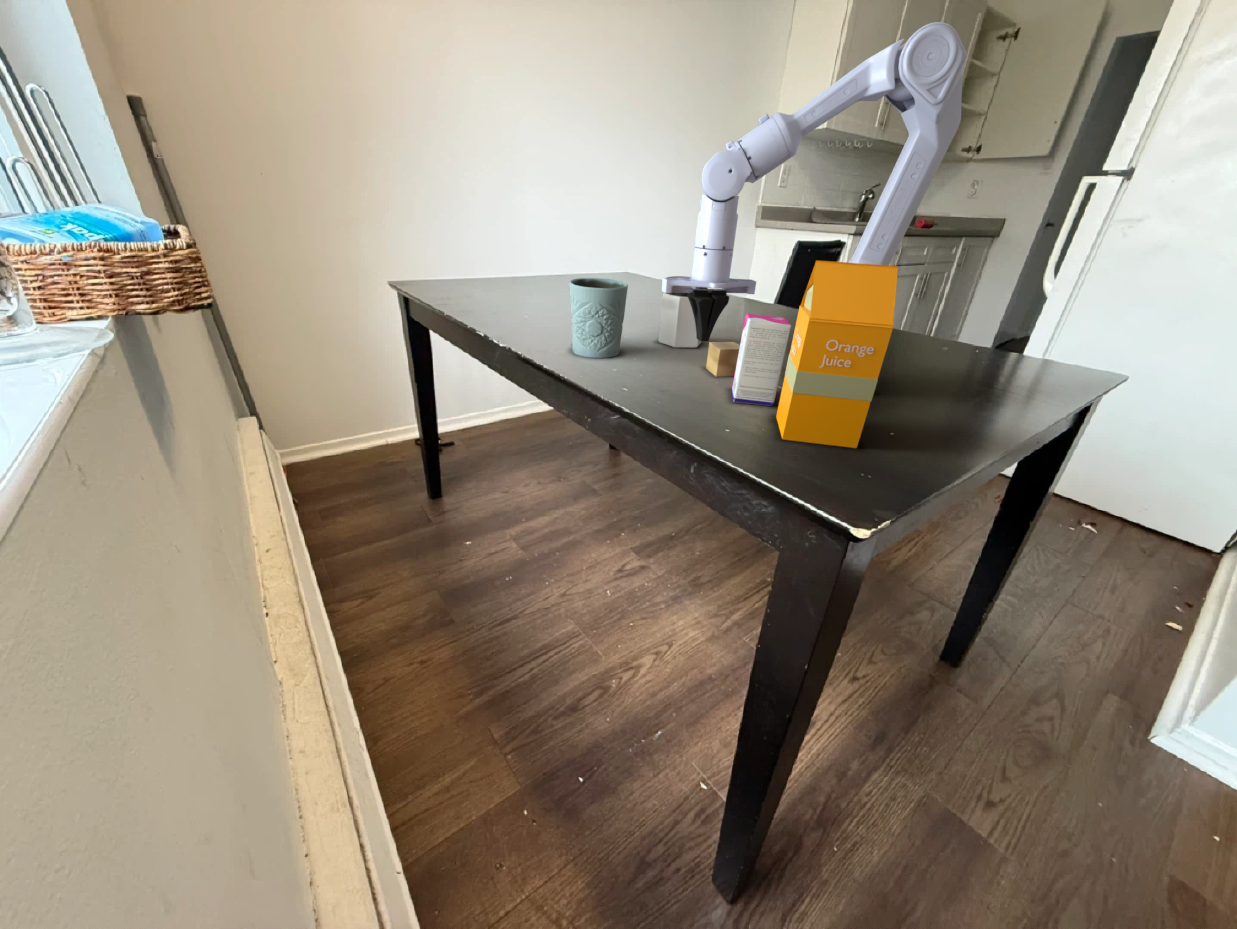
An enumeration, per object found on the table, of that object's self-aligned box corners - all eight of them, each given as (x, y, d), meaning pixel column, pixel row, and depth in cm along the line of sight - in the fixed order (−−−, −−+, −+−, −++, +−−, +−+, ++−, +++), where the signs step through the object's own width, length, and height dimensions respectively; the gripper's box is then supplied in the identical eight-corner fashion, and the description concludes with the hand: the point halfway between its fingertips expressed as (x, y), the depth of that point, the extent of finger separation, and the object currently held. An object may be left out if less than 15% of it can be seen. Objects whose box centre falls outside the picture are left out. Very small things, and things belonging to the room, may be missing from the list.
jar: (695, 337, 105) (703, 276, 100) (708, 348, 98) (716, 283, 92) (653, 337, 104) (658, 275, 98) (663, 348, 97) (669, 282, 91)
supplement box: (775, 406, 71) (792, 324, 66) (732, 402, 72) (746, 320, 67) (770, 393, 76) (786, 316, 71) (730, 389, 77) (743, 312, 72)
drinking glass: (599, 341, 98) (601, 276, 93) (636, 354, 92) (640, 285, 86) (557, 349, 92) (557, 280, 86) (593, 363, 86) (595, 289, 80)
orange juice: (857, 448, 60) (911, 270, 51) (781, 439, 61) (820, 264, 52) (843, 423, 67) (888, 262, 58) (775, 416, 68) (809, 256, 59)
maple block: (730, 367, 87) (734, 341, 85) (741, 376, 83) (746, 349, 81) (705, 368, 86) (709, 342, 84) (715, 376, 82) (719, 349, 80)
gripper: (675, 249, 70) (666, 346, 76) (771, 252, 73) (755, 346, 79) (661, 244, 76) (654, 335, 82) (750, 247, 79) (736, 335, 85)
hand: (702, 339), depth 81 cm, fingers closed
